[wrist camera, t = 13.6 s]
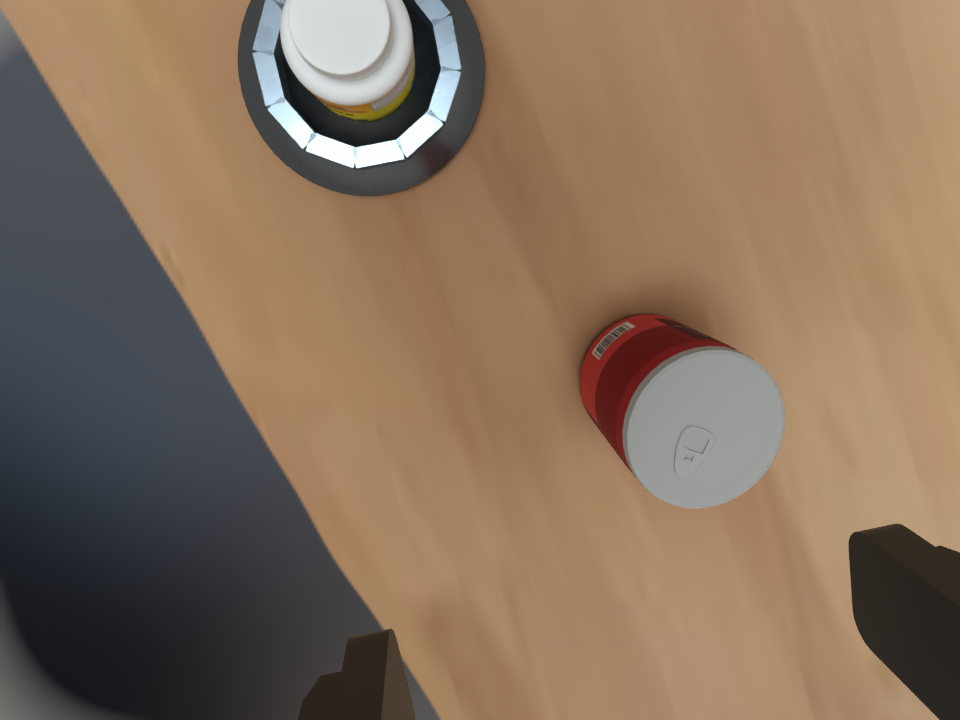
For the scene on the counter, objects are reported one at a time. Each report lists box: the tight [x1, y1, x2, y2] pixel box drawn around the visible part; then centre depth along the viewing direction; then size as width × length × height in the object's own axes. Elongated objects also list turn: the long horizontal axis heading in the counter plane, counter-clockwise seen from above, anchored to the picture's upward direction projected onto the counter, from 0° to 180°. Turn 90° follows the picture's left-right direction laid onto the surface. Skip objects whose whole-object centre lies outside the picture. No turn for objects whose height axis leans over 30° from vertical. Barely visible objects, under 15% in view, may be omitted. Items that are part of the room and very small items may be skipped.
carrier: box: [238, 0, 484, 196], centre depth 36 cm, size 13×13×4 cm
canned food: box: [580, 314, 785, 508], centre depth 37 cm, size 8×8×11 cm
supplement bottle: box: [280, 0, 415, 123], centre depth 31 cm, size 6×6×10 cm
